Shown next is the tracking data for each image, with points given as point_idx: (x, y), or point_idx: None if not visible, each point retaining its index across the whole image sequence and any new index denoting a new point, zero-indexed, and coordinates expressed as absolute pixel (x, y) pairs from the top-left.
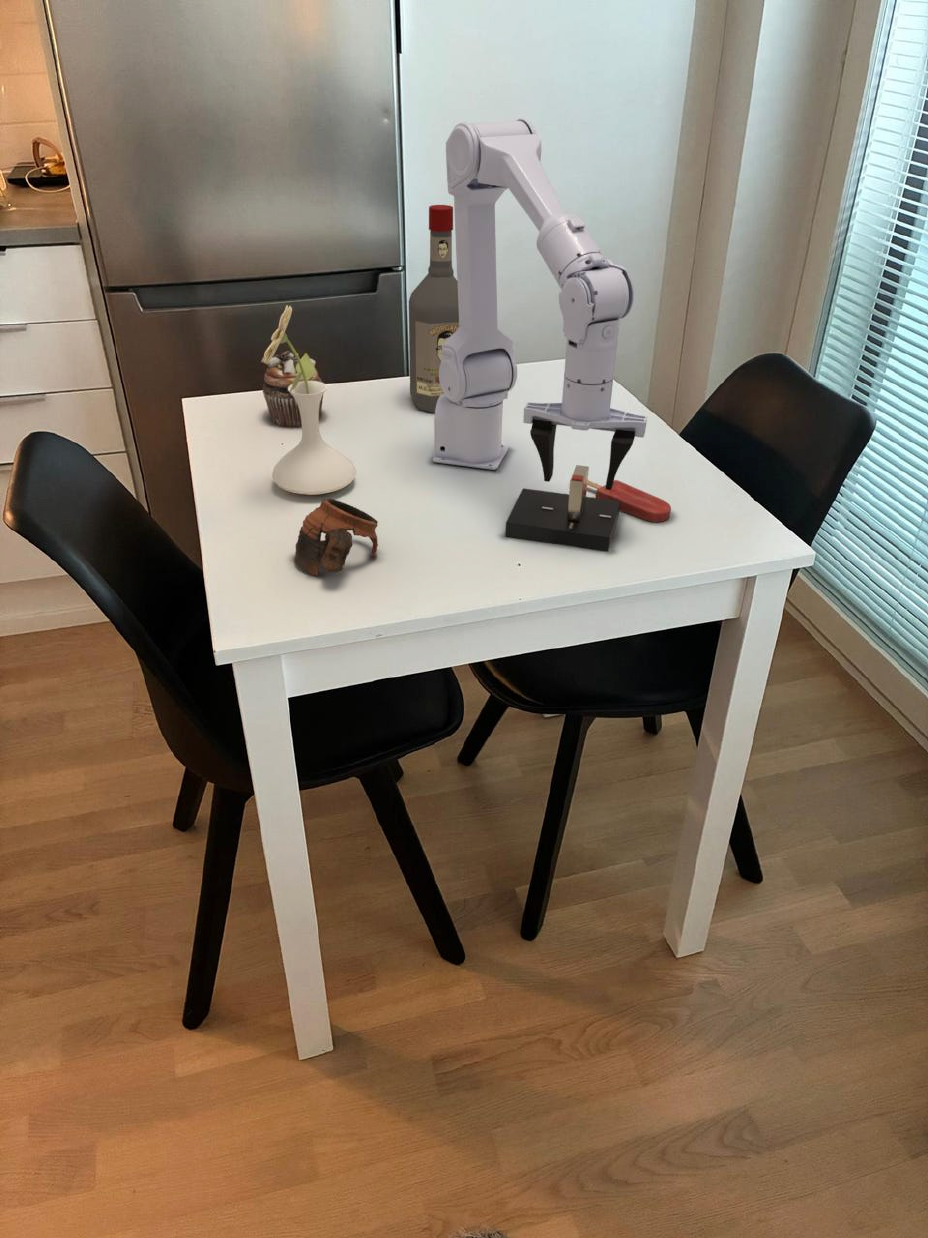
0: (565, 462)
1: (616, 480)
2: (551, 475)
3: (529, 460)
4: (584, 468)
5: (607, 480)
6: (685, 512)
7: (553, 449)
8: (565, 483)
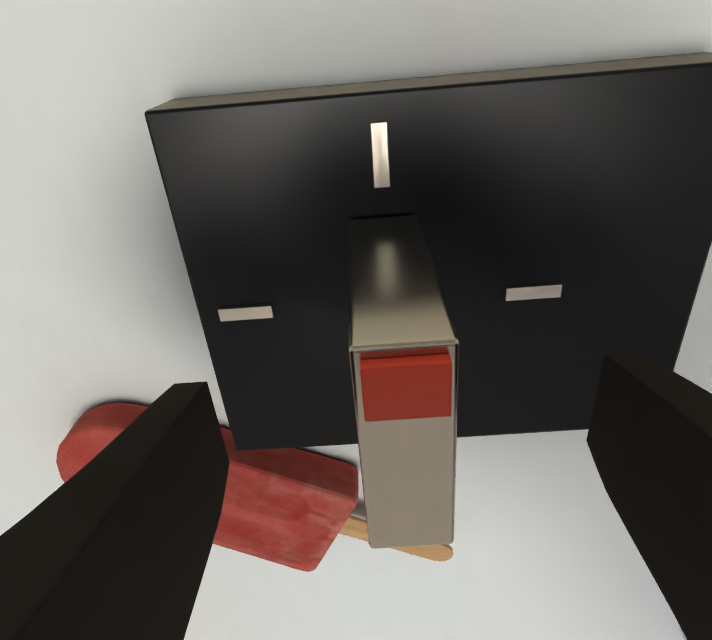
0: (499, 619)
1: (306, 568)
2: (599, 419)
3: (610, 604)
4: (391, 521)
5: (169, 419)
6: (48, 488)
7: (685, 625)
8: (480, 529)
